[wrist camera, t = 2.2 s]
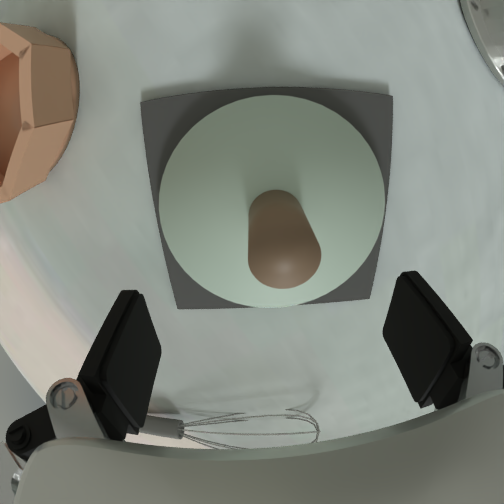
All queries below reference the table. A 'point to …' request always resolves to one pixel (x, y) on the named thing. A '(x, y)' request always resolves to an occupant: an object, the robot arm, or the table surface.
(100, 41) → the table surface
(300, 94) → the mat
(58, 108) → the bowl
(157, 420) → the kitchen whisk
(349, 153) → the lid
